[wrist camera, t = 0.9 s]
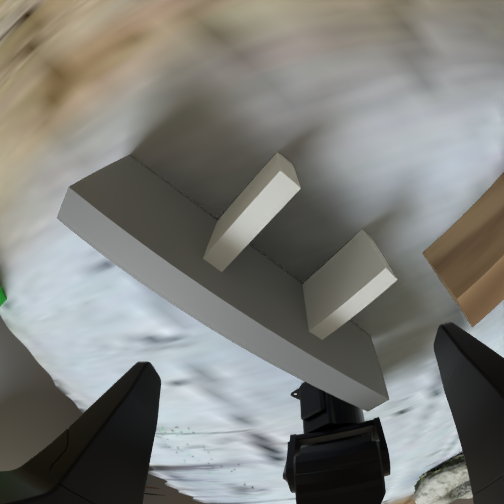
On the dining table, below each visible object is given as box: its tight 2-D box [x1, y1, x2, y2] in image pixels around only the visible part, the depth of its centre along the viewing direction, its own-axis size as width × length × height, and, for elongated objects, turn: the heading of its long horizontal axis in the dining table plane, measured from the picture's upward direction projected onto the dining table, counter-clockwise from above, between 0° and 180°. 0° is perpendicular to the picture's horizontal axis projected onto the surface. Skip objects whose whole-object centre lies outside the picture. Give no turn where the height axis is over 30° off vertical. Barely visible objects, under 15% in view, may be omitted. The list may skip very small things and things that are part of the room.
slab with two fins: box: [57, 152, 397, 411], centre depth 17 cm, size 24×8×7 cm, turn 51°
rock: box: [414, 454, 473, 504], centre depth 43 cm, size 29×30×15 cm
